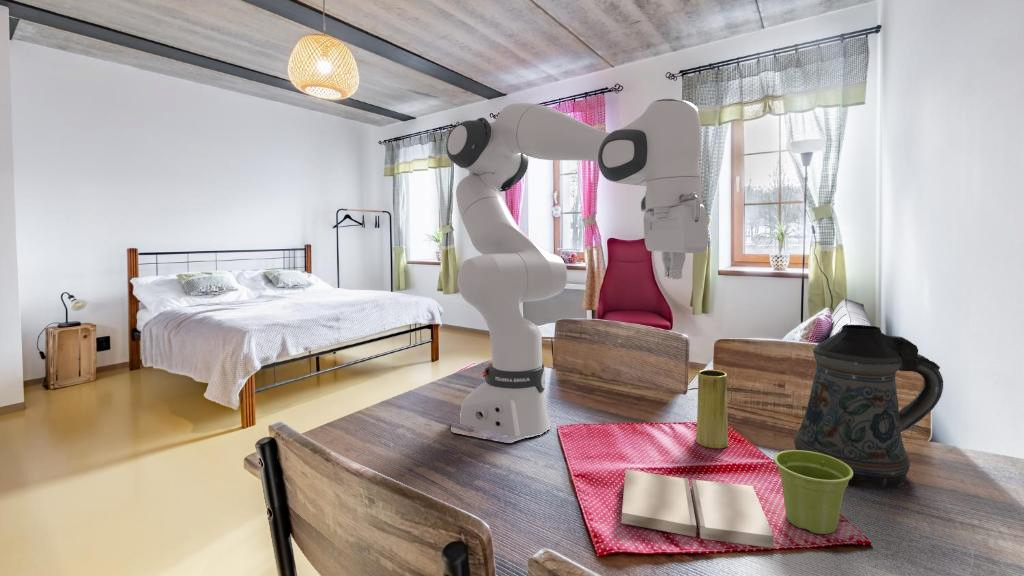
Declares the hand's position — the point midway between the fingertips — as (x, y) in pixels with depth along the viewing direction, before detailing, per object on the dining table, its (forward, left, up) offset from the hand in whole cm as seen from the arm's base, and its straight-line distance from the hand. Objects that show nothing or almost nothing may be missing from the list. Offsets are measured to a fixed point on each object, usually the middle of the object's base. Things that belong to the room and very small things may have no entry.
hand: (673, 278), depth 81 cm
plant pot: (+18, -13, -34) cm, 41 cm away
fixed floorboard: (+7, -14, -34) cm, 37 cm away
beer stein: (+31, +7, -34) cm, 47 cm away
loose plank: (-3, -14, -34) cm, 37 cm away
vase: (+8, +12, -34) cm, 37 cm away
